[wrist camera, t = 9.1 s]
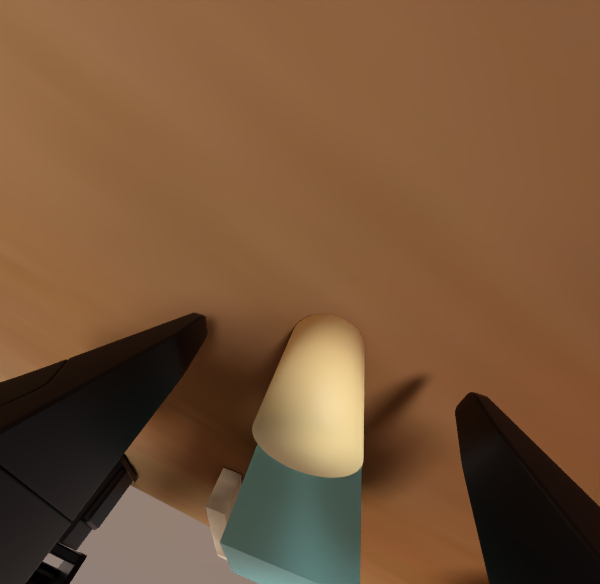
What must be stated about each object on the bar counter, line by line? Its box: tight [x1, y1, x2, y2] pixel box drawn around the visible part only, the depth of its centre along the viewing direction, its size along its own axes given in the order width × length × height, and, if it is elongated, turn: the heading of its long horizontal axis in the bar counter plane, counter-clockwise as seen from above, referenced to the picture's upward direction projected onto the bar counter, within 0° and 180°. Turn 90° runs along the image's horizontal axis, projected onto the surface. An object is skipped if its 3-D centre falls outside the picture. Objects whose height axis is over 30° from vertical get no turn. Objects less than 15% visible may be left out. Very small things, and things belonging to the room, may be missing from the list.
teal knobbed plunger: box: [220, 314, 365, 584], centre depth 11 cm, size 6×16×5 cm, turn 176°
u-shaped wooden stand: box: [205, 468, 241, 560], centre depth 21 cm, size 11×16×2 cm
